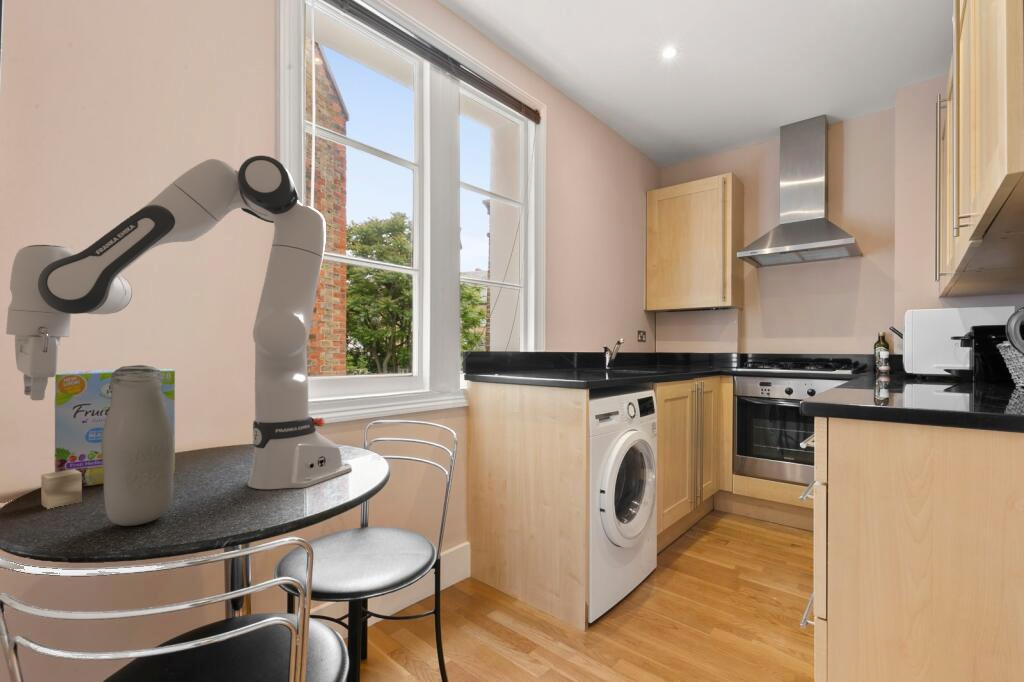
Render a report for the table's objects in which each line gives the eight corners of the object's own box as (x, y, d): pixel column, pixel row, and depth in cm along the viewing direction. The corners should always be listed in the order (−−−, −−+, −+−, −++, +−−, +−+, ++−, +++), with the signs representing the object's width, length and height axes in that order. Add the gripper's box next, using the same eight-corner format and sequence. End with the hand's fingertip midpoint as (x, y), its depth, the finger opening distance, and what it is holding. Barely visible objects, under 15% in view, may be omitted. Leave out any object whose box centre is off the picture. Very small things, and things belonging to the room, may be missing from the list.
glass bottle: (160, 508, 91) (158, 363, 91) (183, 519, 86) (181, 364, 85) (94, 525, 83) (91, 366, 83) (114, 539, 77) (112, 367, 77)
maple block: (74, 497, 99) (74, 469, 99) (82, 502, 96) (81, 472, 96) (41, 504, 95) (41, 474, 95) (47, 509, 92) (47, 478, 92)
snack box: (53, 492, 102) (51, 373, 102) (58, 483, 109) (56, 371, 109) (177, 474, 116) (175, 368, 116) (174, 466, 123) (173, 367, 122)
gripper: (70, 329, 89) (65, 402, 89) (52, 327, 102) (47, 392, 102) (22, 326, 85) (16, 404, 84) (10, 325, 97) (5, 393, 97)
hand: (33, 397), depth 93 cm, fingers open, 8 cm apart
